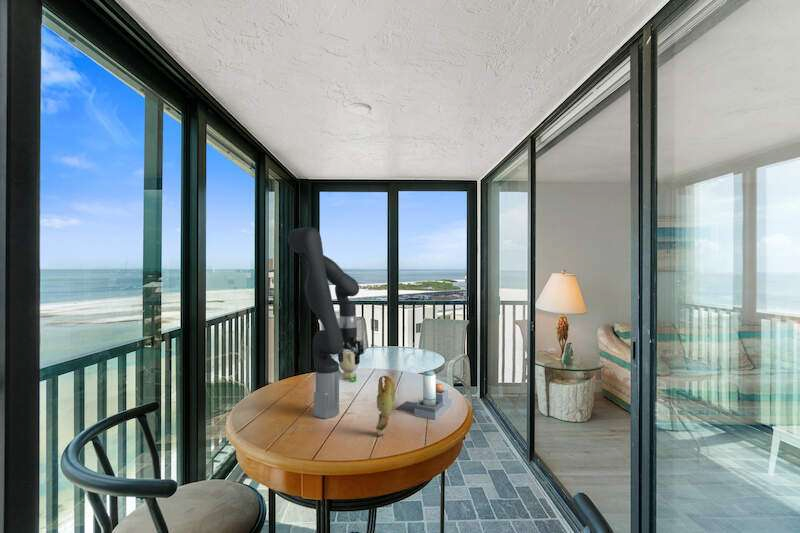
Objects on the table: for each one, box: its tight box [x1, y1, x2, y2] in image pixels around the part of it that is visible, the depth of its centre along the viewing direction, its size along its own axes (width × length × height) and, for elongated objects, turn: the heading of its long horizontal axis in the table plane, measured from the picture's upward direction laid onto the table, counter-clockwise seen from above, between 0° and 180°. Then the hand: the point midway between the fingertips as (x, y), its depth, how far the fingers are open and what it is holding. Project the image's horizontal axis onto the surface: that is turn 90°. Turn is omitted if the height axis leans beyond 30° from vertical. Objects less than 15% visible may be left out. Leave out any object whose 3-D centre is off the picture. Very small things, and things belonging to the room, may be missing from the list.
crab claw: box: [375, 375, 396, 437], centre depth 123 cm, size 7×5×20 cm
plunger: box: [436, 383, 444, 392], centre depth 150 cm, size 3×3×2 cm
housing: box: [413, 389, 453, 421], centre depth 145 cm, size 17×9×6 cm, turn 151°
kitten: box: [338, 349, 359, 383], centre depth 190 cm, size 15×10×15 cm
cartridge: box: [422, 370, 437, 408], centre depth 142 cm, size 5×5×14 cm
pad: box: [394, 400, 419, 414], centre depth 148 cm, size 10×10×1 cm
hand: (349, 363), depth 154 cm, fingers open, 8 cm apart
